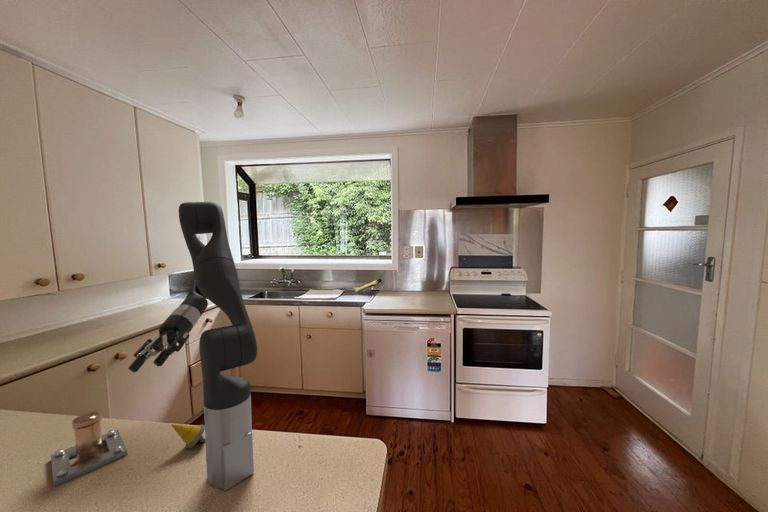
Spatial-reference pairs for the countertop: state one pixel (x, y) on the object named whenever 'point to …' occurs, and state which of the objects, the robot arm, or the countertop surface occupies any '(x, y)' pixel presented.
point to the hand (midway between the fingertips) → (144, 367)
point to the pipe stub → (88, 436)
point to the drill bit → (190, 434)
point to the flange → (66, 472)
